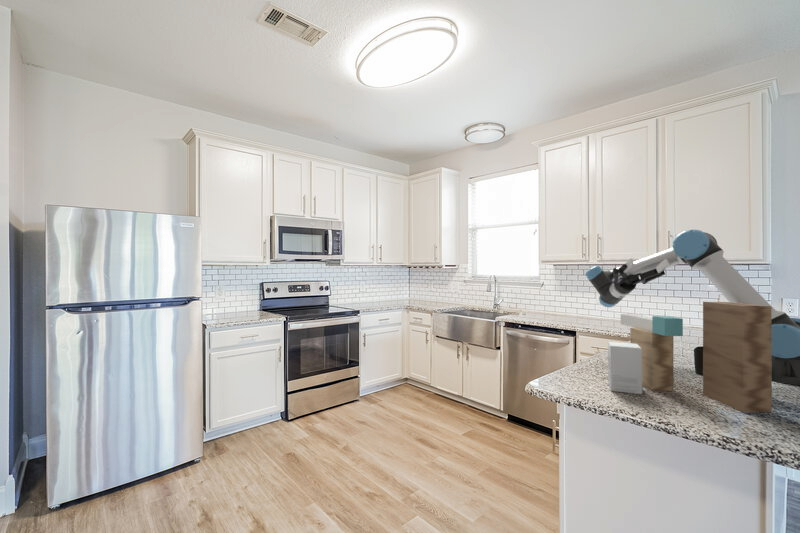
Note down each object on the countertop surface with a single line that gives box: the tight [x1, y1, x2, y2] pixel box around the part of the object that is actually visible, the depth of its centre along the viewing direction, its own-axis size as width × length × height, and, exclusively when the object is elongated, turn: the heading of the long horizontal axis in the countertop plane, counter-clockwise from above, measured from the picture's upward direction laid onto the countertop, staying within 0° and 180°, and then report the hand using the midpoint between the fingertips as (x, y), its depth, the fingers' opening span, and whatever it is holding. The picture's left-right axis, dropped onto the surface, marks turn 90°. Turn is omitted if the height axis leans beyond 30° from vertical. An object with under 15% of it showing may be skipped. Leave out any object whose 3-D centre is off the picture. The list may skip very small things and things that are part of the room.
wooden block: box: [629, 327, 674, 392], centre depth 128 cm, size 7×12×19 cm, turn 178°
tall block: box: [702, 301, 773, 413], centre depth 111 cm, size 8×14×30 cm, turn 178°
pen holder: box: [693, 345, 703, 376], centre depth 142 cm, size 9×9×10 cm
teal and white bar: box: [620, 313, 684, 337], centre depth 130 cm, size 26×6×6 cm, turn 179°
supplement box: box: [607, 341, 643, 395], centre depth 123 cm, size 9×9×15 cm
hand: (649, 261), depth 144 cm, fingers open, 13 cm apart
